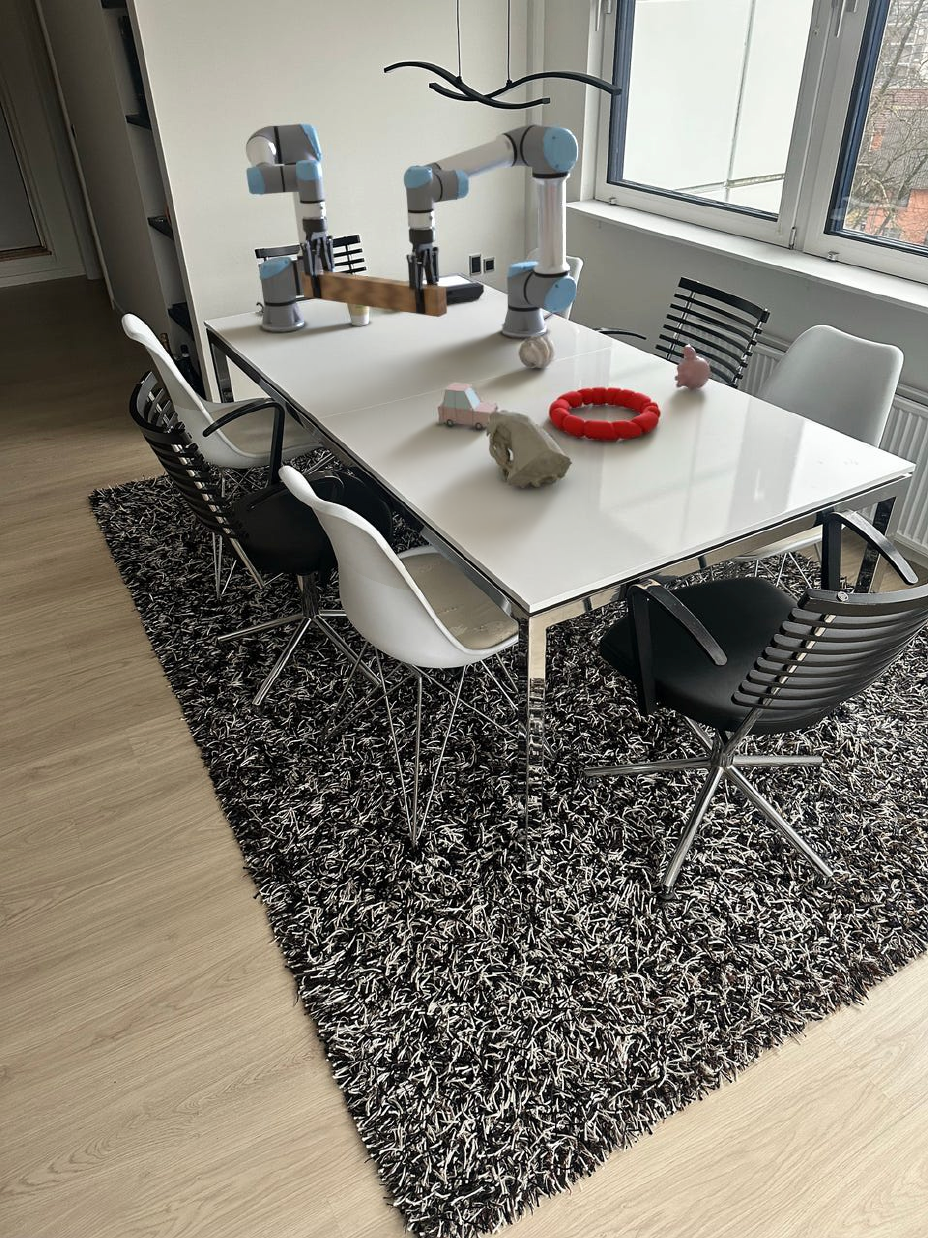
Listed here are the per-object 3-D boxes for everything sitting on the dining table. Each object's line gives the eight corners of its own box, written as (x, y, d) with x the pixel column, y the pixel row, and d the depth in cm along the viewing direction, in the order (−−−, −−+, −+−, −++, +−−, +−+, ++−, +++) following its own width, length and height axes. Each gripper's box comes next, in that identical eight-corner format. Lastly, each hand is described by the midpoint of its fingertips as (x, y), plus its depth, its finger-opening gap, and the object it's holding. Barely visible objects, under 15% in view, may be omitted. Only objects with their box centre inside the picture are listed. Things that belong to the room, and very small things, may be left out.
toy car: (488, 432, 240) (488, 396, 234) (436, 426, 244) (434, 390, 239) (499, 419, 247) (499, 384, 241) (448, 413, 252) (447, 379, 246)
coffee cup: (372, 326, 323) (368, 283, 314) (345, 327, 323) (340, 284, 315) (374, 318, 331) (371, 276, 322) (348, 319, 331) (344, 277, 323)
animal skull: (496, 517, 219) (521, 479, 201) (463, 429, 225) (484, 384, 207) (557, 503, 225) (586, 465, 206) (523, 417, 231) (549, 373, 212)
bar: (303, 296, 287) (300, 271, 283) (313, 293, 290) (310, 268, 286) (438, 317, 264) (437, 289, 259) (446, 313, 267) (445, 286, 263)
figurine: (665, 387, 264) (669, 347, 257) (693, 380, 268) (698, 340, 261) (686, 396, 257) (690, 355, 250) (714, 388, 262) (720, 348, 255)
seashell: (509, 366, 283) (509, 335, 277) (548, 358, 288) (549, 327, 283) (526, 376, 275) (526, 344, 269) (566, 367, 281) (567, 335, 275)
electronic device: (407, 294, 335) (388, 282, 350) (408, 310, 338) (389, 298, 353) (483, 282, 345) (462, 272, 360) (483, 299, 348) (463, 287, 364)
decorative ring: (589, 435, 224) (684, 402, 234) (527, 398, 247) (617, 369, 256) (589, 461, 229) (683, 427, 238) (529, 422, 251) (617, 393, 260)
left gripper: (304, 223, 265) (314, 303, 278) (341, 212, 277) (348, 290, 290) (285, 221, 268) (295, 300, 281) (322, 211, 280) (330, 287, 293)
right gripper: (414, 234, 247) (419, 319, 260) (449, 222, 259) (452, 304, 272) (392, 232, 250) (398, 316, 263) (428, 220, 262) (432, 301, 276)
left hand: (322, 295), depth 286 cm, fingers closed on bar, 5 cm apart
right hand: (425, 310), depth 268 cm, fingers closed on bar, 5 cm apart
